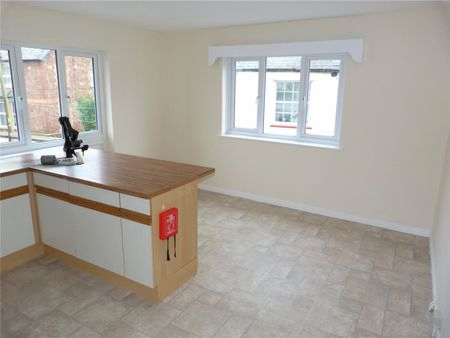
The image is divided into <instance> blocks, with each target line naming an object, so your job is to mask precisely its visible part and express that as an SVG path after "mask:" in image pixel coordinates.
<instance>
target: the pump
mask: <svg viewBox="0 0 450 338" xmlns="http://www.w3.org/2000/svg"><path fill="white" fill-rule="evenodd" d="M75 153H76V155H77V157H76V156H75V159H76V160H75V161H76V162H75V163H76V165H83V164H85V161H84V156H83V152H81V151H75Z"/></svg>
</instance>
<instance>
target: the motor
mask: <svg viewBox="0 0 450 338" xmlns="http://www.w3.org/2000/svg"><path fill="white" fill-rule="evenodd" d="M76 162H77V160H75V159H74V158H62V159H57V157H56V155H55V154H50V155H47V154H44V155H41V156H40V163H41V165H54V166H57V167H58V166H72V165H74V164H75V163H76Z"/></svg>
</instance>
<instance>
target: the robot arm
mask: <svg viewBox="0 0 450 338" xmlns="http://www.w3.org/2000/svg"><path fill="white" fill-rule="evenodd" d="M57 121H58V123H59V124H60V126H61V128H62V133H63V138H64V143H63V148H62V152H64V153H65V157H64V159H74V158H73V157H75V158H76V157H77V155H76V151H77V150H81V151H80V152H83V157H84V156H85V154H84V153H85V151H88V150H89V147H90V146H89V145H88V144H83V139H82V138H81V139H78V138H79V135H80V132H79V131H78V130H76V128H75V129H74V128H73V126H72V124H71V122H70V118H69V116H58V118H57ZM82 144H83V145H82ZM81 145H82V146H81Z"/></svg>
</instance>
